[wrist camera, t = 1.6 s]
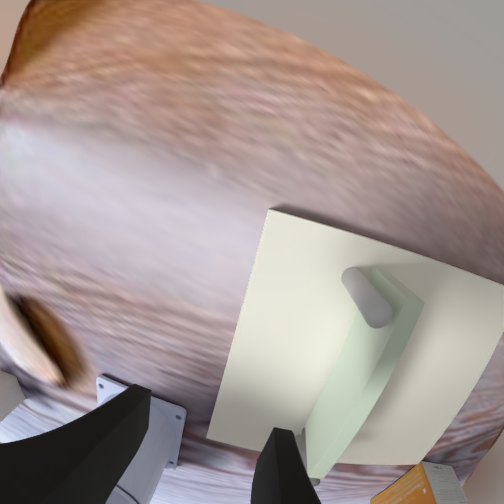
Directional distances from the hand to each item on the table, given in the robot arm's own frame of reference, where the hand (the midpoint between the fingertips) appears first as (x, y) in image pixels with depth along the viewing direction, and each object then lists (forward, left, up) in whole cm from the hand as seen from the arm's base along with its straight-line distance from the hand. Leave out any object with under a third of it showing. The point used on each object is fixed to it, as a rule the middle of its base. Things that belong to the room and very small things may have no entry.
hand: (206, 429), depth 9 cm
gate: (-1, -7, -9) cm, 11 cm away
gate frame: (-2, -10, -10) cm, 14 cm away
